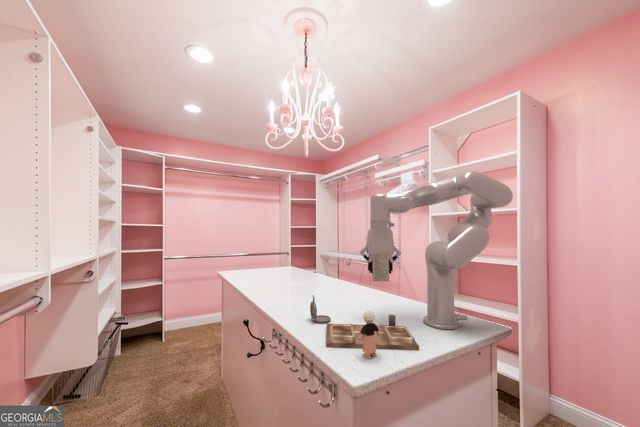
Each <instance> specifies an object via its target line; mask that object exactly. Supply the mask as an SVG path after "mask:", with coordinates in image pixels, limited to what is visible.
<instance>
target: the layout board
mask: <svg viewBox="0 0 640 427" xmlns="http://www.w3.org/2000/svg"><path fill="white" fill-rule="evenodd" d="M396 318H397V316H396V315H395V314H388V325H387V324H386V325H383V324H375V325H376V326H377V327H378V329H379V333H380V336H377V333H376V332H375V333H374V337H375V343H376V350H398V351H399V350H402V351H403V350H405V351H420V345H419V344H418V343H417V341H416V339H415V337H414V335H413V334H412V333H411V332H410V330H409V329H408V328H407V327H406V326H404V325H396V321H397V319H396ZM364 325H365V324H353V323H351V324H349V323H326V331H325V333H326V336H325V338H326V341H325V347H326V348H348V349H363V342H364V335H363V337H362V340H359V336H360V331H361V329H362V327H363V326H364Z"/></svg>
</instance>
